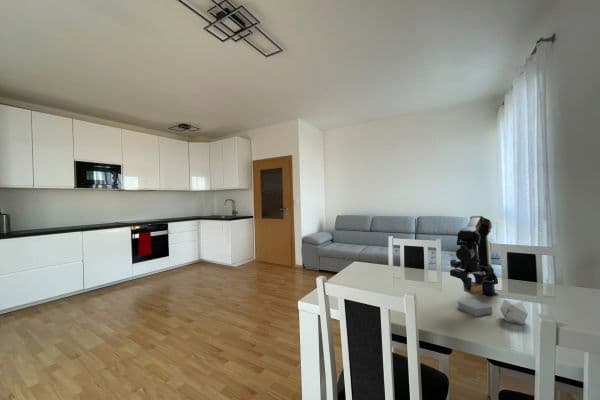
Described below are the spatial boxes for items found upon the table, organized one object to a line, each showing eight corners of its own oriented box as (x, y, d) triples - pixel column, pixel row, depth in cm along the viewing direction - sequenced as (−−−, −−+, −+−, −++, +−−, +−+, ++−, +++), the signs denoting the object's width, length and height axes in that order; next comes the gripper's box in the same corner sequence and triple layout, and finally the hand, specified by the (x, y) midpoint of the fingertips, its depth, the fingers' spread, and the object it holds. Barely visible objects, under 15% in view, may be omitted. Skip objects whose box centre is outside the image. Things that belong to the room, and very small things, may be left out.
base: (473, 305, 112) (473, 298, 112) (492, 313, 103) (491, 306, 103) (458, 307, 110) (457, 301, 110) (475, 316, 101) (475, 309, 102)
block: (482, 293, 105) (482, 284, 105) (473, 295, 104) (472, 286, 104) (472, 289, 110) (472, 281, 110) (463, 291, 109) (463, 282, 109)
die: (495, 316, 102) (493, 303, 97) (510, 304, 102) (509, 291, 98) (517, 332, 94) (516, 319, 90) (534, 319, 95) (533, 305, 90)
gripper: (471, 251, 117) (473, 281, 117) (439, 255, 113) (442, 287, 113) (493, 255, 106) (496, 289, 106) (458, 260, 102) (461, 295, 102)
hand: (473, 290), depth 107 cm, fingers closed on block, 5 cm apart
